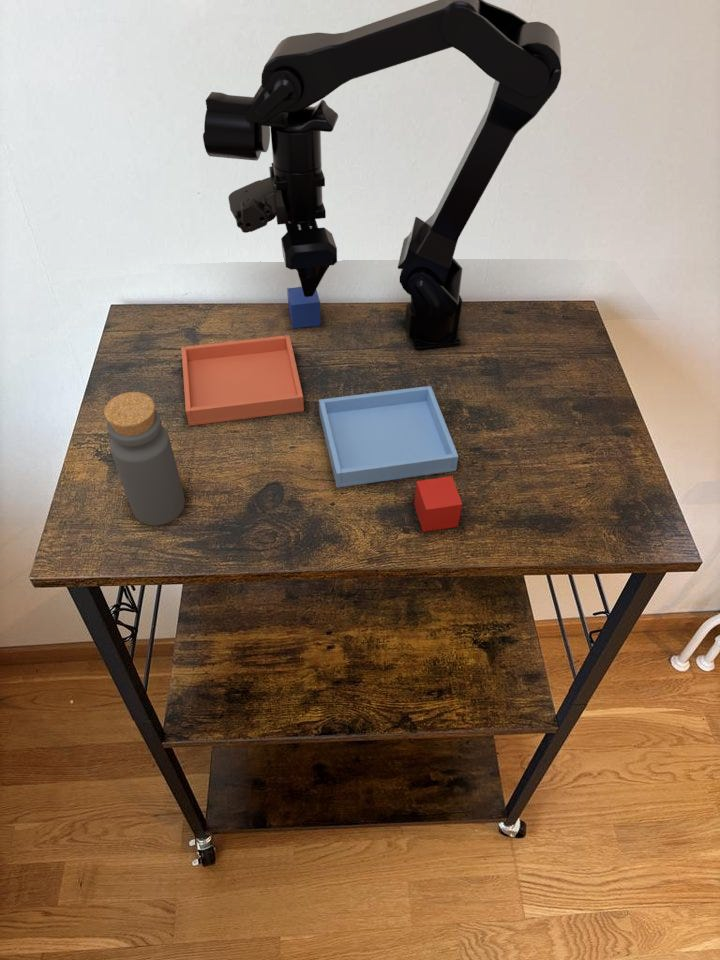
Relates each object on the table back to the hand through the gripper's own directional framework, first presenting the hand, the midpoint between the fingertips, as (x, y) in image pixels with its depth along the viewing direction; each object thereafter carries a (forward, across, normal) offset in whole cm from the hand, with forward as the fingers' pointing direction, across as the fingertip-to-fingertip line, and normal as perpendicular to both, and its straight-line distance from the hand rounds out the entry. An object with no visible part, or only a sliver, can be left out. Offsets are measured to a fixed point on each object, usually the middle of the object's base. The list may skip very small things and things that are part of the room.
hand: (303, 275), depth 98 cm
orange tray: (+7, +12, -10) cm, 17 cm away
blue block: (+7, 0, 0) cm, 7 cm away
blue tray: (+7, +25, +6) cm, 27 cm away
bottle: (+7, +30, -21) cm, 38 cm away
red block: (+7, +37, +9) cm, 39 cm away
